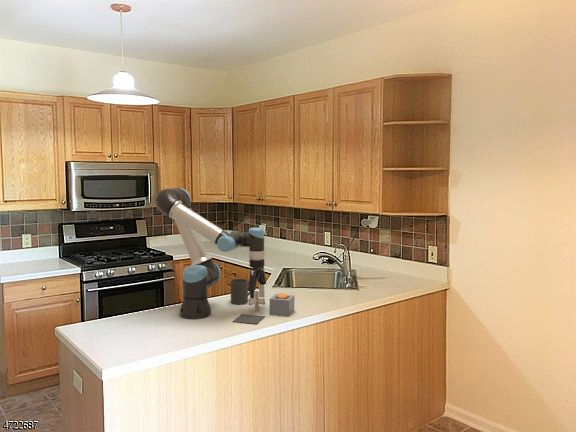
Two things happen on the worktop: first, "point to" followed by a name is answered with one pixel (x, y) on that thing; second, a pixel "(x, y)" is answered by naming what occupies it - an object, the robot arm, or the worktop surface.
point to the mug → (239, 291)
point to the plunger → (281, 296)
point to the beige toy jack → (258, 302)
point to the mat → (248, 319)
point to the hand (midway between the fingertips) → (257, 300)
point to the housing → (282, 305)
